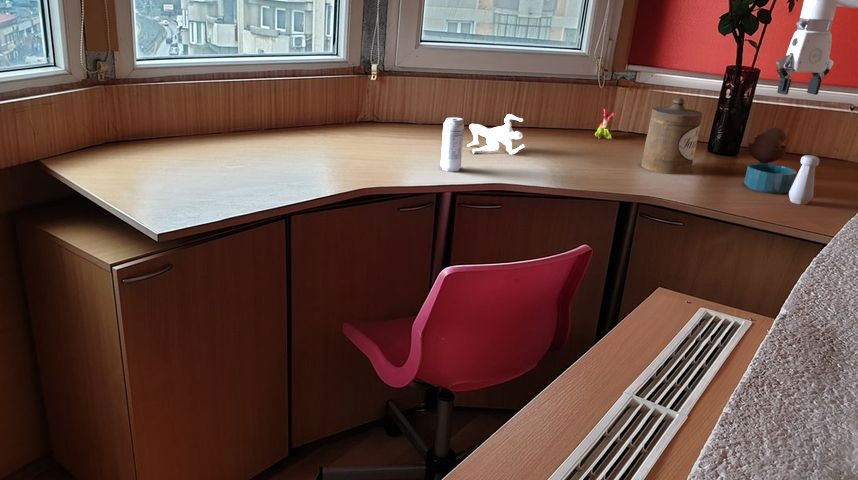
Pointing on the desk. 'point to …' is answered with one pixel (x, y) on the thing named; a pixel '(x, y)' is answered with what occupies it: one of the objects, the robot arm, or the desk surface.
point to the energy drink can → (452, 144)
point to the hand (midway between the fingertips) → (797, 93)
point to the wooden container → (671, 139)
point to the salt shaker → (804, 181)
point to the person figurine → (497, 136)
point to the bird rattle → (604, 126)
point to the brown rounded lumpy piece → (768, 145)
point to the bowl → (769, 178)
